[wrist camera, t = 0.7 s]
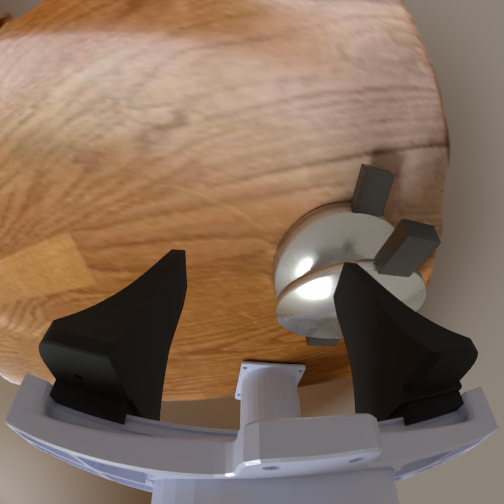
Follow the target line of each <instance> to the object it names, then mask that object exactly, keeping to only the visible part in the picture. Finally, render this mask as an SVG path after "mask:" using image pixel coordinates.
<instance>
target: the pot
mask: <svg viewBox="0 0 504 504" xmlns="http://www.w3.org/2000/svg"><path fill="white" fill-rule="evenodd" d="M393 178H394V174H393V173H391V172H390V171H387V170H384V169H380V168H377V167H373V166H369V165H365V164H362V165H361V169H360V173H359V176H358V180H357V184H356V188H355V191H354V195H353V198H352V202H341V203H333V204H329V205H325V206H322V207H320V208H317V209H315V210H313V211H311V212H309V213H307V214H306V215H304V216H303V217H301V218H300V219H299V220H297V221H296V222H295V223H294V224H293V225H292V226H291V227H290V228H289V229H288V231H287V232H286V233H285V234H284V236H283V237H282V239H281V241H280V243H279V245H278V247H277V249H276V253H275V256H274V263H273V272H274V282H275V290H276V296H277V297H278V295H279V294H280V292H281V291H282V290H283V289H284V288H285V287H286V286H287V285H288V284H289V283H291V282H292V281H293V280H295V279H297V278H298V277H300V276H302V275H304V274H306V273H308V272H310V271H313V270H315V269H318V268H321V267H324V266H327V265H330V264H335V263H339V262H343V261H350V260H356V259H374V257H375V256H376V254H377V253H378V251H379V250H380V249H381V247H382V246H383V245H384V243H385V242H386V241H387V239H388V238H389V236H390V235H391V234H392V232H393V231H394V229H395V228H394V227H393V226H392V224H391V223H390V222H389V221H388V220H387V219H386V218H385V217H384V216H383V215H382V213H383V210H384V207H385V204H386V201H387V198H388V195H389V192H390V188H391V185H392V182H393ZM306 340H307V345H318V346H336V344H337V343H338V341H339V339H322V338H312V337H307V336H306Z"/></svg>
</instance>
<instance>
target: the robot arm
mask: <svg viewBox="0 0 504 504" xmlns="http://www.w3.org/2000/svg"><path fill="white" fill-rule="evenodd" d="M186 290H187V277H186V258H185V250H174V249H172V250H171V251H169V252H168V253H167V254H166V255H165V256H164V257H163V258H161V259H160V260H159V261H158V262H157V263H156V264H155V265H154V266H152V267H151V268H150V269H149V270H148V271H147V272H146V273H144V274H143V275H142V276H140V277H139V278H138V279H137V280H135V281H134V282H133V283H131V284H130V285H129V286H127V287H126V288H124V289H123V290H121V291H120V292H118V293H116V294H115V295H113V296H111V297H109V298H107V299H106V300H104V301H102V302H100V303H98V304H96V305H94V306H92V307H90V308H87V309H85V310H82V311H80V312H77V313H75V314H72V315H69V316H66V317H62V318H59V319H56V320H54V321H53V322H52V324H51V325H50V327H49V329H48V330H47V332H46V334H45V335H44V337H43V339H42V340H41V342H40V344H39V353H40V356H41V357H42V359H43V361H44V363H45V364H46V366H47V367H48V368H49V370H50V371H51V373H52V374H53V376H54V377H55V378H56V381H55V383H54V385H52V384H50V383H49V382H47V381H45V380H43V379H40V378H38V377H35V376H33V375H31V374H26V375H25V377H24V379H23V381H22V383H21V385H20V387H19V389H18V392H17V394H16V397H15V398H14V400H13V403H12V405H11V407H10V410H9V412H8V414H7V417H6V420H5V423H6V424H7V425H8V426H9V427H11V428H12V429H13V430H14V431H15V432H17V433H18V434H19V435H20V436H22V437H23V438H24V439H25V440H27V441H28V442H29V443H31V444H32V445H33V446H35V447H36V448H38V449H40V450H42V451H44V452H46V453H48V454H50V455H52V456H54V457H56V458H58V459H60V460H62V461H65V462H67V463H69V464H71V465H74V466H76V467H78V468H81V469H83V470H85V471H88V472H91V473H93V474H95V475H98V476H101V477H104V478H106V479H109V480H112V481H115V482H118V483H121V484H124V485H127V486H131V487H134V488H138V489H142V490H145V491H149V492H153V495H152V502H151V504H399V501H398V495H397V489H396V484H395V482H397V481H399V480H403V479H405V478H408V477H411V476H414V475H416V474H419V473H421V472H424V471H426V470H428V469H431V468H433V467H436V466H438V465H440V464H442V463H445V462H447V461H449V460H451V459H453V458H456V457H458V456H460V455H462V454H464V453H466V452H467V451H469V450H470V449H472V448H473V447H475V446H476V445H477V444H479V443H480V442H482V441H483V440H484V439H486V438H487V437H488V436H490V435H491V434H492V433H494V432H495V431H496V430H497V429H498V426H497V423H496V420H495V418H494V415H493V413H492V411H491V408H490V406H489V404H488V401H487V399H486V397H485V394H484V392H483V390H482V388H481V387H479V388H476V389H473V390H470V391H467V392H465V393H464V394H462V395H460V392H459V390H460V389H461V387H462V385H461V383H460V379H462V377H463V376H464V375H465V374H466V373H467V372H468V371H469V369H470V368H471V367H472V366H473V364H474V363H475V361H476V359H477V356H478V351H477V349H476V348H475V346H474V344H473V342H472V341H471V339H470V338H468V337H465V336H462V335H460V334H457V333H455V332H452V331H450V330H448V329H446V328H443V327H441V326H439V325H437V324H435V323H434V322H432V321H430V320H428V319H427V318H425V317H423V316H422V315H420V314H419V313H417V312H415V311H414V310H413V309H411V308H410V307H408V306H407V305H405V304H404V303H403V302H402V301H400V300H399V299H398V298H397V297H395V296H394V295H393V294H392V293H390V292H389V291H388V290H387V289H386V288H385V287H383V286H382V285H381V284H380V283H379V282H378V281H377V280H376V279H374V278H373V277H372V276H371V275H370V274H369V273H368V272H367V271H365V270H364V269H363V268H362V267H361V266H359V265H358V264H357V263H349V262H344V264H343V268H342V271H341V274H340V277H339V280H338V283H337V286H336V290H335V293H334V296H333V298H334V304H335V310H336V315H337V319H338V322H339V325H340V328H341V332H342V335H343V338H344V341H345V344H346V348H347V351H348V355H349V359H350V365H351V371H352V378H353V387H354V397H355V414H346V415H336V416H324V417H309V418H301V416H300V407H299V399H298V390H297V385H298V383H299V381H300V379H301V377H302V375H303V373H304V371H305V369H306V366H305V365H301V364H278V363H263V362H250V361H244V362H242V364H241V369H240V374H239V378H238V383H237V388H236V393H235V399H238V400H239V399H240V400H241V415H240V430H227V429H215V428H204V427H195V426H187V425H180V424H173V423H167V422H161V421H160V409H161V400H162V392H163V384H164V378H165V371H166V365H167V360H168V354H169V350H170V346H171V343H172V339H173V336H174V333H175V330H176V327H177V324H178V321H179V318H180V315H181V312H182V309H183V305H184V300H185V295H186Z"/></svg>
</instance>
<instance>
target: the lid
mask: <svg viewBox="0 0 504 504" xmlns="http://www.w3.org/2000/svg"><path fill="white" fill-rule="evenodd" d="M440 243H441V242H440V240H439V237H438V235H437V232H436V230H435V228H434V226H432V225H428V224H423V223H419V222H415V221H411V220H406V219H401V221H400V222H399V224H398V225H397V227H396V228H395V229H394V231H393V232H392V234H391V235H390V236H389V238H388V239H387V241H386V242H385V243H384V245H383V246H382V247H381V249H380V250H379V251H378V253H377V254H376V256H375V257H374V259H356V260H350V261H343V262H339V263H335V264H330V265H327V266H324V267H321V268H318V269H315V270H313V271H310V272H308V273H306V274H304V275H302V276H300V277H298V278H297V279H295V280H293V281H292V282H291V283H289V284H288V285H287V286H286V287H285V288H284V289H283V290H282V291H281V292H280V294H279V295H278V297H277V300H276V318H277V321H278V322H279V324H280V325H282V326H283V327H284V328H285V329H287V330H289V331H291V332H293V333H296V334H299V335H302V336H307V337H312V338H322V339H341V338H343V335H342V332H341V328H340V325H339V322H338V319H337V315H336V310H335V304H334V298H333V296H334V293H335V290H336V286H337V283H338V280H339V277H340V274H341V271H342V268H343V264H344V262H349V263H357V264H358V265H359V266H361V267H362V268H363V269H364V270H365V271H367V272H368V273H369V274H370V275H371V276H372V277H373V278H374V279H376V280H377V281H378V282H379V283H380V284H381V285H382V286H383V287H385V288H386V289H387V290H388V291H389V292H390V293H392V294H393V295H394V296H395V297H397V298H398V299H399V300H400V301H402V302H403V303H404V304H405V305H407V306H408V307H410V308H411V309H413V310H414V311H415V312H416V311H417V310H418V309H419V308H420V307H421V305H422V304H423V302H424V300H425V298H426V287H425V284H424V280H423V277H422V275H421V274H420V272H419V271H418V270H417V268H418V267H419V266H420V265H421V264H422V263H423V262H424V261H425V260H426V259H427V258H428V257H429V255H430V254H431V253H432V252H433V251H434V250H435V249H436V248H437V246H438V245H439V244H440Z"/></svg>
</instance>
